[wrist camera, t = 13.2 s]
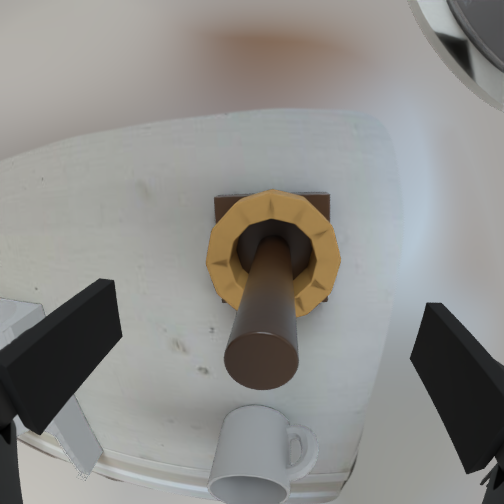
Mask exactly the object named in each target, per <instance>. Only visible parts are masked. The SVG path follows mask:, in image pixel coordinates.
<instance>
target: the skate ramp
mask: <svg viewBox="0 0 504 504" xmlns="http://www.w3.org/2000/svg"><path fill="white" fill-rule="evenodd" d="M44 318H45V314H44V311H43V308H42V304H35V303H28V302H21V301H15V300H8V299H2V298H0V350H1V349H2V348H4V347H5V346H6V345H7V344H10V342H11V341H12V340H14V339H15V338H17V337H18V336H19V335H20V334H21V333H23V332H24V331H25V330H27V329H29V328H32V327H33V326H34V325H36V324H37V323H38V322H40V321H41V320H42V319H44ZM13 420H14V422H15V424H16V432H17V436H19V435H21V434H22V433H24V432H27V431H30V430H29V429H27V428H26V427H24V425H23V423H22V422H21V420H20V418H19V416H18V414H17V415H16V417H15V418H14V419H13ZM44 431H45V432H48V433H50V434H52V435H53V436H54V435H55V436H56V437H55V439H56V438H57V439H58V441H59V442H60V444H61V445H60V447H61V446H62V447H63V449H64V450H65V452H66V453H65V452H64V453H65V454H67V455H68V456H69V457H70V459H71V460H72V462H73V463H74V465H75V466H76V468H77V469H78V470H79V471H80V472H81V473H84V474H86V475H88V476H89V475H90V473H91V471H92V469H93V468H94V466H95V464H96V462H97V461H98V459H99V457H100V455H101V454H102V452H103V450H102V448H101V446H100V445H99V443H98V441H97V439H96V437H95V436H94V434H93V432H92V430H91V428H90V426H89V424H88V422H87V420H86V418H85V416H84V414H83V412H82V410H81V408H80V406H79V404H78V402H77V400H76V397H75V395H74V394H73V395H72V397H71V398H70V399H69V400H68V402H67V403H66V404H65V405H64V406H63V408H62V409H61V410H60V411H59V413H58V414H57V415H56V416H55V418H54V419H53V420H52V421H51V423H50V424H49V425H48V426H47V428H46V429H45V430H44ZM56 441H57V440H56ZM58 444H59V443H58ZM63 449H62V450H63ZM67 455H66V456H67ZM68 459H69V458H68ZM70 459H69V460H70ZM72 462H71V463H72ZM88 476H87V477H88ZM86 479H87V478H86Z"/></svg>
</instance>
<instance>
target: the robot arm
mask: <svg viewBox="0 0 504 504" xmlns="http://www.w3.org/2000/svg"><path fill="white" fill-rule="evenodd" d="M446 1H447V3H448V6H449V8H450V10H451V12H452V14H453V16H454V18H455V19H456V21H457V23H458V24H459V26H460V28H461V29H462V30H463V32H464V33H465V35H466V36H467V37H468V39H469V40H470V41H471V43H472V44H473V45H474V46H475V47H476V48H477V50H478V51H479V52H480V53H481V54H482V55H483V56H484V57H485V58H486V59H487V60H488V61H489V62H490V63H491V64H492V65H494V66H495V67H496V68H497V69H499V70H500V71H501V72H503V73H504V0H446ZM121 338H122V331H121V325H120V319H119V312H118V306H117V298H116V291H115V283H114V280H108V279H101V278H99V279H98V280H97V281H95V282H94V283H92V284H91V285H89V286H88V287H87V288H85V289H84V290H82V291H81V292H79V293H78V294H77V295H75V296H74V297H72V298H71V299H70V300H68V301H67V302H65V303H64V304H63V305H61V306H60V307H59V308H57V309H56V310H54V311H53V312H52V313H50V314H49V315H48V316H46V317H45V318H44V319H42V320H41V321H40V322H38V323H37V324H36V325H34V326H33V327H32V328H29V329H27V330H25V331H24V332H23V333H21V334H20V335H19V336H18V337H17V338H15V339H14V340H12V341H11V342H10V344H7V345H6V346H5V347H4V348H2V349H1V350H0V504H23V500H22V494H21V487H20V478H19V468H18V457H17V432H16V424H15V422H14V420H13V419H14V418H15V417H16V415H17V414H18V416H19V418H20V420H21V422H22V423H23V425H24V427H26V428H27V429H29V430H31V431H33V432H35V433H36V434H38V435H41V434H42V433H43V432H44V430H45V429H46V428H47V426H48V425H49V424H50V423H51V421H52V420H53V419H54V418H55V416H56V415H57V414H58V413H59V411H60V410H61V409H62V408H63V406H64V405H65V404H66V403H67V402H68V400H69V399H70V398H71V397H72V395H73V394H74V393H75V392H76V391H77V389H78V388H79V387H80V386H81V385H82V383H83V382H84V381H85V380H86V379H87V377H88V376H89V375H90V374H91V373H92V371H93V370H94V369H95V368H96V367H97V366H98V364H99V363H100V362H101V361H102V360H103V358H104V357H105V356H106V355H107V354H108V353H109V351H110V350H111V349H112V348H113V347H114V346H115V345H116V343H117V342H118V341H119V340H120V339H121ZM410 360H411V362H412V363H413V365H414V367H415V369H416V371H417V373H418V374H419V376H420V378H421V380H422V382H423V384H424V386H425V388H426V390H427V391H428V393H429V395H430V397H431V399H432V401H433V403H434V405H435V407H436V409H437V411H438V413H439V415H440V417H441V419H442V421H443V423H444V425H445V427H446V430H447V432H448V434H449V436H450V438H451V440H452V442H453V444H454V446H455V449H456V451H457V453H458V456H459V458H460V460H461V462H462V465H463V467H464V469H465V472H466V474H470V473H473V472H475V471H478V470H481V469H484V468H485V467H486V466H487V465H488V463H489V462H490V461H491V460H492V459H493V457H494V456H495V458H496V460H497V462H498V463H497V464H496V465H495V466H494V468H493V469H492V470H491V471H490V472H489V473H488V474H487V475H486V477H485V478H484V479H483V480H482V482H481V483H480V485H483V484H484V483H485V482H486V481H487V480H488V479H489V478H490V480H489V483H488V484H487V486H486V487H487V490H486V493H485V496H484V499H483V502H482V504H504V366H503V365H502V364H500V363H499V362H497V361H496V360H495V359H493V358H492V357H491V355H490V354H489V353H488V352H487V351H486V350H485V349H484V347H483V346H482V345H481V344H480V343H479V342H478V341H477V340H476V339H475V337H474V336H472V334H471V333H470V332H469V331H468V330H467V329H466V328H465V327H464V326H463V325H462V324H461V322H459V320H458V319H456V317H455V316H454V315H453V314H452V313H451V312H450V311H449V310H448V309H447V308H446V307H445V306H444V305H443V304H442V303H426V307H425V311H424V314H423V318H422V321H421V325H420V328H419V332H418V335H417V338H416V341H415V344H414V347H413V351H412V353H411V357H410Z"/></svg>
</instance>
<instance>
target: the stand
mask: <svg viewBox="0 0 504 504" xmlns="http://www.w3.org/2000/svg"><path fill="white" fill-rule="evenodd" d="M291 194H295V195H300V196H303V197H305V198H306V199H307V200H308V201H309V202H310V203H311V204H312V205H313V206H314V207H315V208H316V209H317V210H318V211H319V212H320V213H321V214H322V215H323V216H324V217H325V218H326V219H327V220H328V221H329V223H330V194H328V193H327V192H304V193H291ZM251 195H254V194H235V195H218V196H216V197H214V204H215V219H216V224H217V223H218V222H219V221H220V220H221V218H222V217H223V216H224V215H225V214H226V213H227V212H228V211H229V210H230V208H231V207H232V206H233V205H234V204H235V203H236V202H238V201H239V200H240V199H242V198H244V197H247V196H251ZM236 251H237V254H238V257H239V260H240V263H241V266H242V269H243V270H245V271H246V272H247V273H248V274H249V275H248V279H247V282H246V285H245V288H244V292H243V295H242V298H241V301H240V305H239V308H238V311H237V314H236V318H235V321H234V324H233V327H232V331H231V334H230V337H229V340H228V344H227V347H226V350H225V353H224V364H225V367H226V370H227V371H228V373H229V375H230V376H231V377H232V378H233V379H234V380H235V381H236V382H238V383H239V384H241V385H243V386H245V387H248V388H251V389H256V390H270V389H274V388H278V387H280V386H282V385H284V384H286V383H287V382H288V381H289V380H290V379H291V378H292V377H293V376H294V374H295V373H296V371H297V368H298V364H299V358H298V341H297V326H296V312H295V299H294V286H293V280H294V279H295V278H296V277H298V276H299V275H300V274H301V273H302V272H303V271H304V270H305V269H306V268H307V267H308V263H309V259H310V256H311V252H312V245H311V242H310V238H309V237H308V236H307V235H305V234H304V233H303V232H302V231H301V230H300V229H299V228H298V227H297V226H296V225H295V224H292V223H288V222H284V221H280V220H275V219H268V220H265V221H262V222H258V223H255V224H252V225H249V226H248V227H247V228H246V229H245V230H244V231H243V232H242V233H241V235H240V236H239V239H238V244H237V249H236ZM327 301H328V296H327V297H326V298H325V299H324V300H323V301H321V302H327ZM222 303H227V302H226V301H225V300H224V299H222Z"/></svg>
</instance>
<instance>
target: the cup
mask: <svg viewBox="0 0 504 504" xmlns="http://www.w3.org/2000/svg"><path fill="white" fill-rule="evenodd" d="M291 440H299V441H300V443H301V447H302V454H301V457H300V459H299V460H298V461H297V462H296V463H295V464H293V465H291ZM318 452H319V446H318V440H317V438H316V435H315V434H314V433H313V432H312V430H311V429H309V428H307V427H305V426H302V425H290V423H289V421H288V420H287V418H286V417H285V416H284V415H283V414H281V413H280V412H279V411H277V410H275V409H272V408H270V407H265V406H259V405H250V406H244V407H240V408H237V409H236V410H234V411H232V412H230V413H229V414H228V415H227V416H226V417H225V420H224V422H223V425H222V428H221V432H220V436H219V440H218V445H217V449H216V453H215V457H214V461H213V465H212V469H211V473H210V477H209V481H208V485H207V488H208V491H209V492H210V494H211V495H212V496H213V497H215V498H216V499H218V500H220V501H222V502H224V503H226V504H281V503H283V502H285V501H286V500H287V499H288V498H289V496H290V481H294V480H298V479H300V478H303V477H305V476H306V475H307V474H308V473H309V472H310V471H311V470H312V469H313V467H314V465H315V463H316V461H317V458H318Z"/></svg>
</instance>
